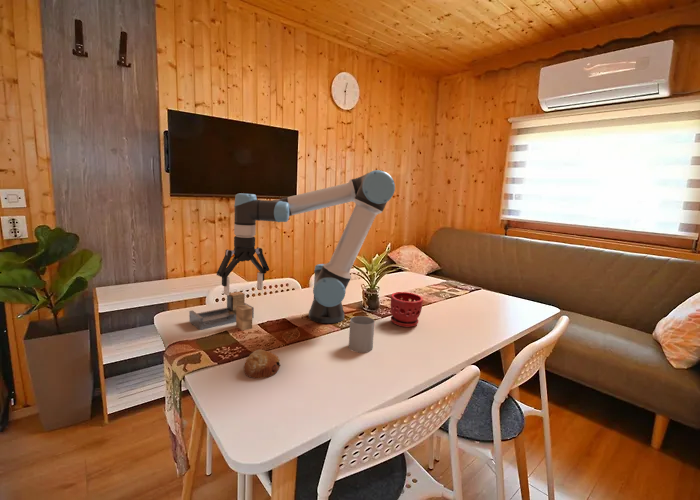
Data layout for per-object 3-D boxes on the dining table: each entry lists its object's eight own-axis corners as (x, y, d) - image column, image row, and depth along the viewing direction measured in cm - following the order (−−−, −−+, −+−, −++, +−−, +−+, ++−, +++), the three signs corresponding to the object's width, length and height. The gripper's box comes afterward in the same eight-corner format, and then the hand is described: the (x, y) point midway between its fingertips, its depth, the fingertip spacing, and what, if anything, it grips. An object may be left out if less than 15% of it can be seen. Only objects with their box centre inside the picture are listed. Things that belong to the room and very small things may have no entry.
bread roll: (253, 373, 113) (242, 351, 111) (284, 360, 113) (273, 338, 111) (247, 390, 103) (235, 366, 101) (281, 376, 103) (269, 352, 101)
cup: (370, 354, 122) (372, 326, 120) (346, 350, 124) (348, 322, 122) (373, 344, 130) (375, 317, 129) (351, 341, 132) (353, 314, 130)
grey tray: (253, 317, 149) (253, 294, 148) (200, 330, 134) (199, 304, 132) (241, 311, 156) (241, 288, 155) (189, 322, 141) (189, 297, 139)
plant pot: (382, 322, 152) (384, 295, 150) (400, 316, 162) (403, 290, 160) (409, 332, 143) (411, 303, 142) (426, 324, 153) (429, 297, 151)
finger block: (244, 323, 142) (244, 304, 141) (252, 328, 138) (252, 308, 137) (235, 326, 140) (235, 306, 138) (242, 330, 136) (242, 310, 134)
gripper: (268, 233, 144) (267, 285, 148) (206, 235, 127) (206, 294, 130) (279, 236, 139) (277, 289, 143) (216, 238, 122) (215, 299, 125)
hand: (243, 291), depth 136 cm, fingers open, 13 cm apart
